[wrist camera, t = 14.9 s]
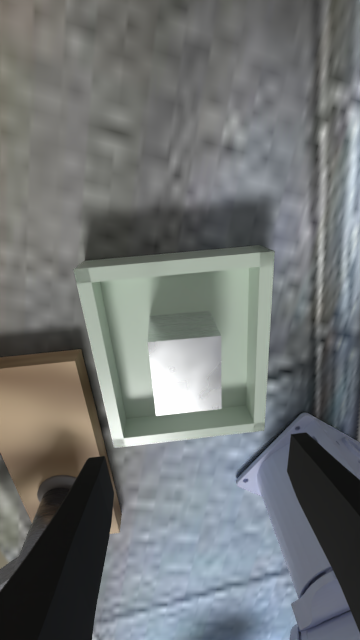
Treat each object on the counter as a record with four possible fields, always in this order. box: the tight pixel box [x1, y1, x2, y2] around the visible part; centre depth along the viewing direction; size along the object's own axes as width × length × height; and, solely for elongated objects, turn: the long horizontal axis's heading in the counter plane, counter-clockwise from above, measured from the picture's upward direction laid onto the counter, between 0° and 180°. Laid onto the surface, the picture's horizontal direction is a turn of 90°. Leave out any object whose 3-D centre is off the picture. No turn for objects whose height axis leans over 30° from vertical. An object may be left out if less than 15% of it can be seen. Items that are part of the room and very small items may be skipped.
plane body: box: [0, 349, 122, 534], centre depth 22 cm, size 18×7×2 cm, turn 4°
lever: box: [0, 488, 70, 591], centre depth 20 cm, size 12×3×5 cm, turn 130°
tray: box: [73, 245, 275, 448], centre depth 19 cm, size 13×11×2 cm
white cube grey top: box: [147, 311, 222, 416], centre depth 18 cm, size 5×4×4 cm
